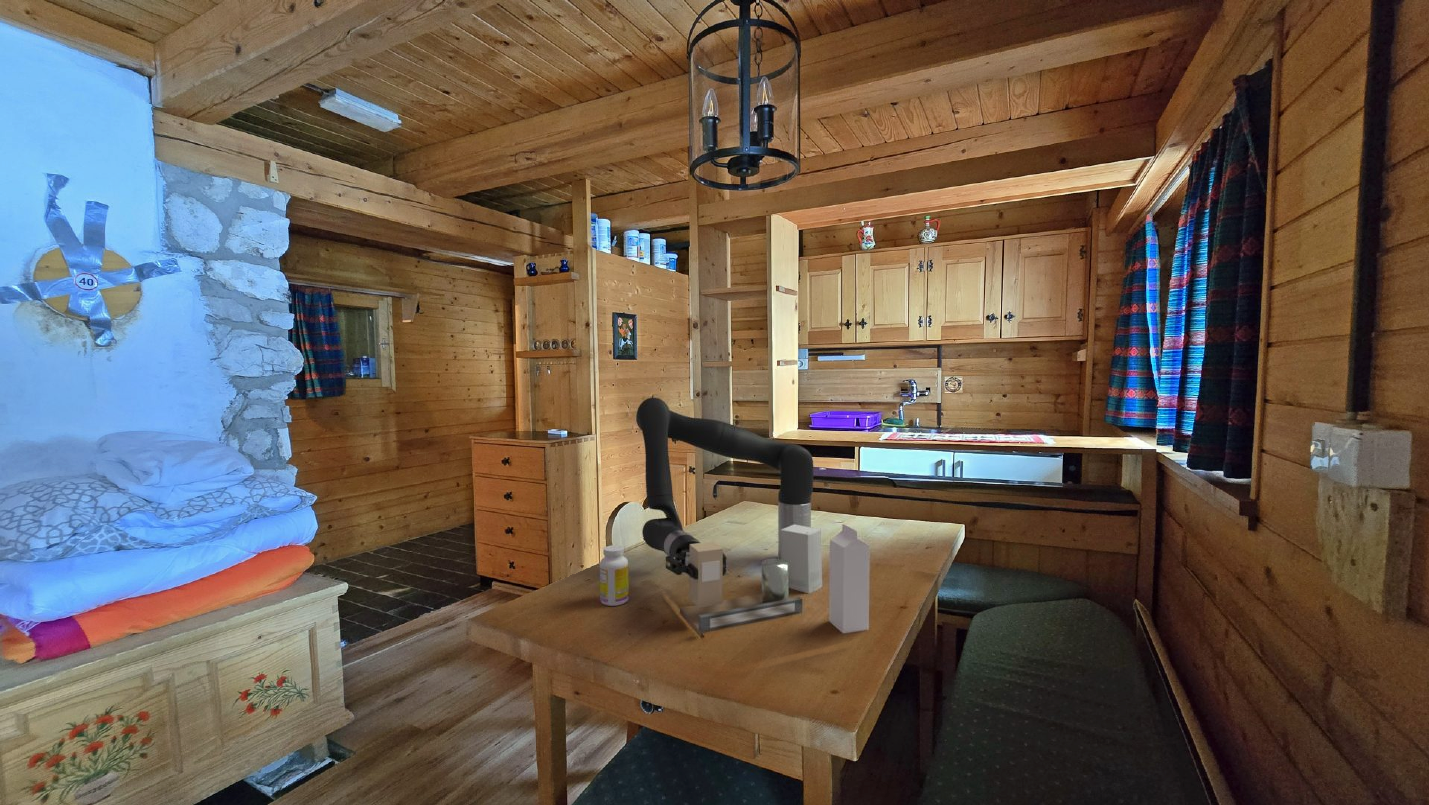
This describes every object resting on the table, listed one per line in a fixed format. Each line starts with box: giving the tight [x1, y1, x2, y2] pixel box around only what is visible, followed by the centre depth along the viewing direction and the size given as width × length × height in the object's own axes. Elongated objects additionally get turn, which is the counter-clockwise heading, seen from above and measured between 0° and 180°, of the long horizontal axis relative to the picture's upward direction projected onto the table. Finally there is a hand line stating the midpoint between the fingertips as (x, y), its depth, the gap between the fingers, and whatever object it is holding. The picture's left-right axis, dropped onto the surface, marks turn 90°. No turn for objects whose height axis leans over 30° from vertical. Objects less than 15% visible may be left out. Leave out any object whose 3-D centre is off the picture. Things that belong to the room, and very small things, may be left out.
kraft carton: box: [688, 541, 724, 608], centre depth 123 cm, size 6×6×12 cm
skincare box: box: [780, 524, 823, 594], centre depth 141 cm, size 8×7×16 cm
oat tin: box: [761, 558, 790, 604], centre depth 128 cm, size 6×6×10 cm
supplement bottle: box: [599, 544, 630, 607], centre depth 135 cm, size 7×7×13 cm
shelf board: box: [679, 593, 803, 639], centre depth 127 cm, size 24×13×4 cm, turn 113°
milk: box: [828, 523, 871, 634], centre depth 119 cm, size 6×6×22 cm
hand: (710, 573), depth 121 cm, fingers closed on kraft carton, 5 cm apart
